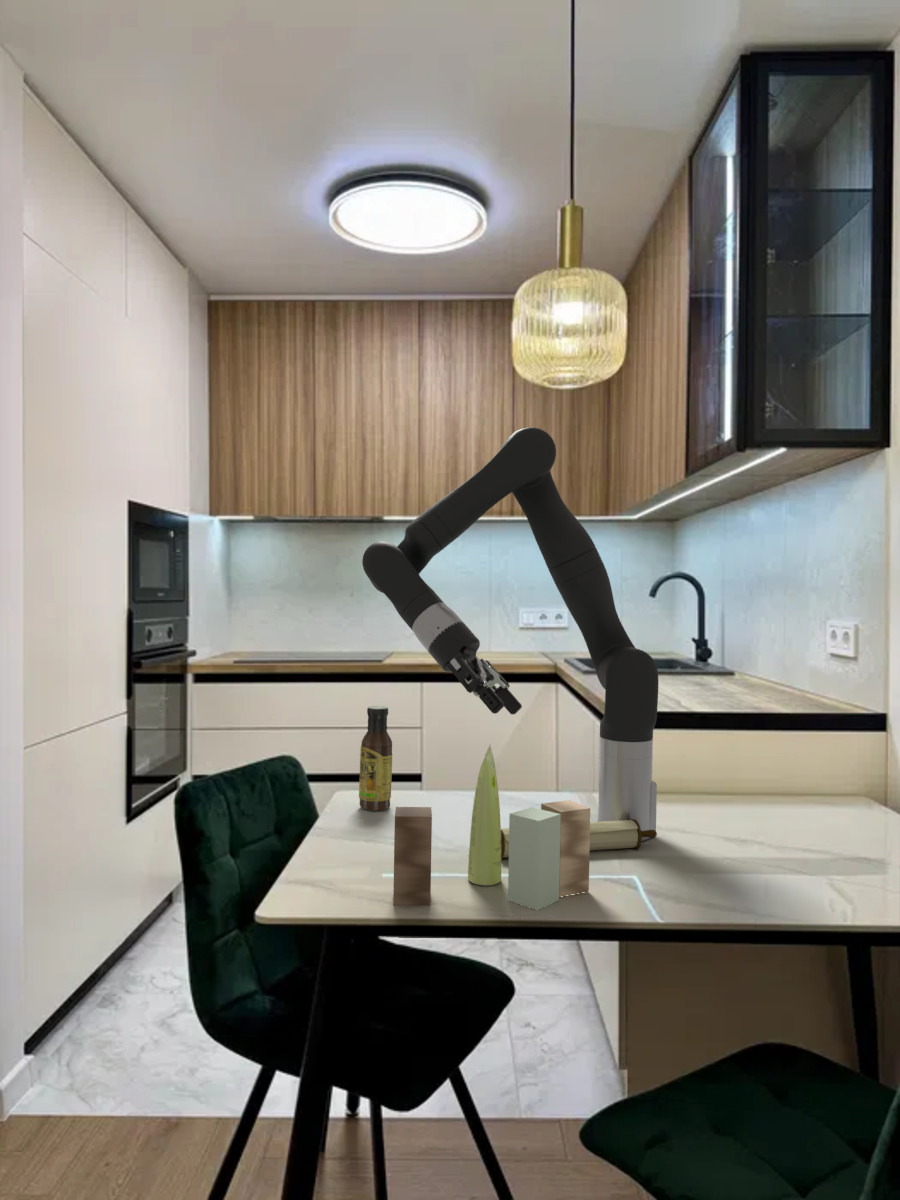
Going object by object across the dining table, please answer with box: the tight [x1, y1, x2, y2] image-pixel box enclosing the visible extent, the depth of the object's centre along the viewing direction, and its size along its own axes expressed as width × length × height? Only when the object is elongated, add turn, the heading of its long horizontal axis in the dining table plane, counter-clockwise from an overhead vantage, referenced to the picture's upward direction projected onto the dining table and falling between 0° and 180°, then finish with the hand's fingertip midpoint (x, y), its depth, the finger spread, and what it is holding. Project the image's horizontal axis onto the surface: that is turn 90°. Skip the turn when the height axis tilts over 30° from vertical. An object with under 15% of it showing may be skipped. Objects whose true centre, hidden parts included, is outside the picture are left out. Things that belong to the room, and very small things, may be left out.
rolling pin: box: [501, 819, 658, 860], centre depth 134 cm, size 32×6×5 cm, turn 105°
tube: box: [467, 743, 502, 887], centre depth 120 cm, size 6×5×20 cm
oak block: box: [540, 799, 591, 897], centre depth 117 cm, size 5×5×12 cm
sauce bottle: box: [358, 705, 393, 812], centre depth 160 cm, size 6×6×20 cm
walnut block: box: [392, 806, 433, 906], centre depth 113 cm, size 5×5×12 cm
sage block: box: [507, 806, 561, 911], centre depth 113 cm, size 5×5×12 cm
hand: (508, 710), depth 128 cm, fingers open, 8 cm apart
